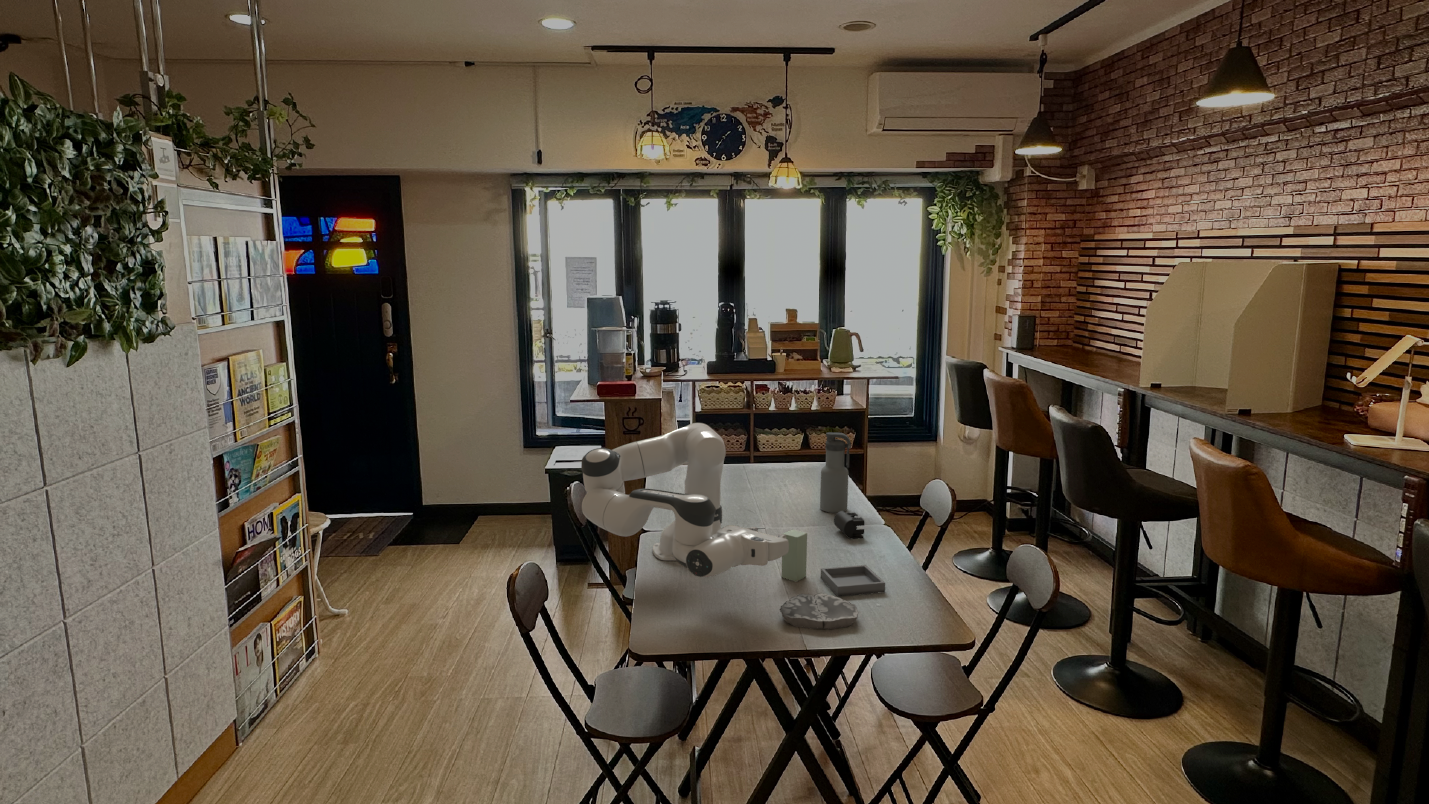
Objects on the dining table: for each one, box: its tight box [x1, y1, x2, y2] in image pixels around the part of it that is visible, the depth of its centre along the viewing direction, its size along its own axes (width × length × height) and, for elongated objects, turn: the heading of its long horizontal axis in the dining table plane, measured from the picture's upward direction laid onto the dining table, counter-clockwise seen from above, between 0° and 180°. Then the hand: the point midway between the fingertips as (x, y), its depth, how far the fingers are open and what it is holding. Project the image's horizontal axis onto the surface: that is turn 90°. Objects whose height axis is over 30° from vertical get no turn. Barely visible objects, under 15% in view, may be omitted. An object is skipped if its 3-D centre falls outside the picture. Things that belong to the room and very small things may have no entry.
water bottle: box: [819, 431, 852, 514], centre depth 302 cm, size 10×10×28 cm
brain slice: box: [779, 593, 859, 630], centre depth 213 cm, size 20×17×3 cm
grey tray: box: [820, 564, 886, 597], centre depth 234 cm, size 14×14×3 cm
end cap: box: [833, 511, 866, 540], centre depth 276 cm, size 10×7×7 cm
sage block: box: [781, 528, 808, 583], centre depth 239 cm, size 5×5×13 cm
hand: (769, 533), depth 227 cm, fingers open, 8 cm apart
